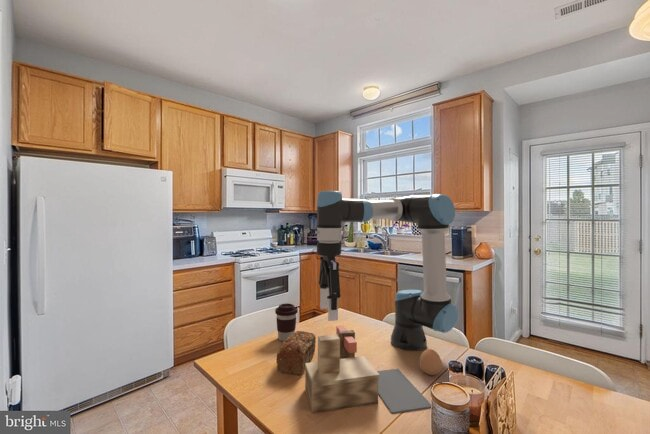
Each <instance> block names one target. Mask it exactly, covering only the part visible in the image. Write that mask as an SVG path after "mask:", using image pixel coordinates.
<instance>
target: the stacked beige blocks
mask: <svg viewBox="0 0 650 434" xmlns="http://www.w3.org/2000/svg"><path fill="white" fill-rule="evenodd" d="M305 367H306V369H307V372H308V375H309V377H310V380H311V382H312V385H313V387H319V386H326V385H333V384H340V383H347V382H354V381H361V380H368V379H376V378H379V373H378V372H377V371H378V370H376V369H375V367H374V366H373V365H372V364H371V363H370V361H369V359H367V358H366V357H365V355H361V356H355V357H353V358H344V359H340V338H339V337H338V336H337V334H336V333H334V334H325V335H317V361H314V362H313V361H312V362H311V361H310V363H305Z"/></svg>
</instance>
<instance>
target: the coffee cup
mask: <svg viewBox="0 0 650 434" xmlns="http://www.w3.org/2000/svg"><path fill="white" fill-rule="evenodd" d="M274 312H275V315H276V318H275V319H276V330H277V340H279V341H280V342H284V341H285V339H286V338H287V337H288V336H289V335H291V334H293V333H295V332H296V326H297V314H298V308H297V307H295V305H294V304H293V303H281V304H279V305H278V307H276V308H275V310H274Z"/></svg>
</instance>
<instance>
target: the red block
mask: <svg viewBox="0 0 650 434" xmlns="http://www.w3.org/2000/svg"><path fill="white" fill-rule="evenodd" d="M339 331H348V329H347V328H346V327H345V326H344V325H343V324H342V325H336V333H335V334H337V336H338V337H339ZM357 344H358V343H357V340H356V338H355V339H354V338H353V337H352V336H351V335H343V345H344V347H345V348H346V350H347V351H348V353H355V354H356V353H357V352H358V351H357V350H358V347H357V346H358V345H357Z"/></svg>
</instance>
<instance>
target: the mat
mask: <svg viewBox="0 0 650 434" xmlns="http://www.w3.org/2000/svg"><path fill="white" fill-rule="evenodd" d="M376 371H377V372H378V373H379V378H378V397H379V398H380V399H381V400H382V402H383V403H384V404H385V406H386V407H387V409H388V410H389V412H390V413H391V414H399V413H405V412H411V411H419V410H425V409H430V408H431V405H432V404H431V402H430V401H429V400H428V399H427V398H426V397H425V396H424V395H423V394H422V392H421V391H420V390H419V389H418V388H417V387H416V386H415V385H414V384H413V383H412V382H411V380H409V379H408V378H407V377H406V375H405V374H404V373H403V372H402V371H401V370H400V369H399V368H393V369H392V368H391V369H382V370H376ZM431 409H432V408H431Z"/></svg>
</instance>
